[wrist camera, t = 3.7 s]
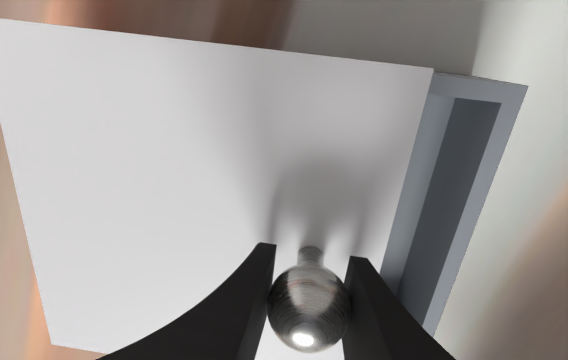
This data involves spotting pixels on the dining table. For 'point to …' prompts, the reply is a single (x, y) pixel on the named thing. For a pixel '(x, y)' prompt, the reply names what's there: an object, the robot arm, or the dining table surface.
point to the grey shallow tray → (446, 188)
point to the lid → (199, 177)
